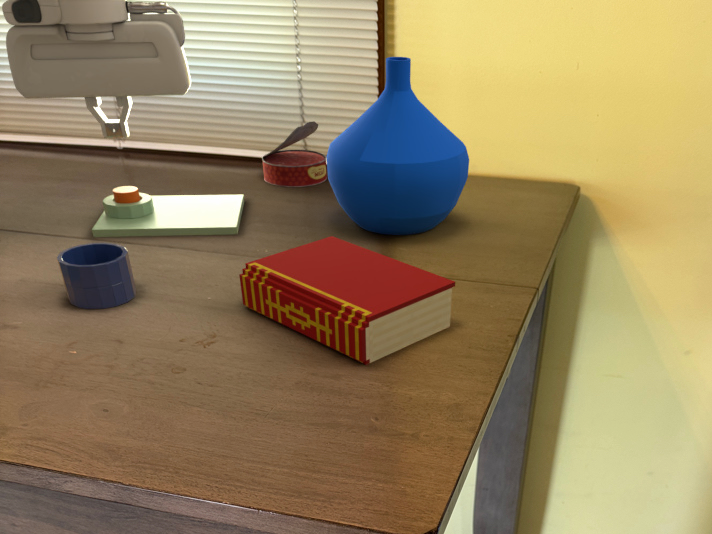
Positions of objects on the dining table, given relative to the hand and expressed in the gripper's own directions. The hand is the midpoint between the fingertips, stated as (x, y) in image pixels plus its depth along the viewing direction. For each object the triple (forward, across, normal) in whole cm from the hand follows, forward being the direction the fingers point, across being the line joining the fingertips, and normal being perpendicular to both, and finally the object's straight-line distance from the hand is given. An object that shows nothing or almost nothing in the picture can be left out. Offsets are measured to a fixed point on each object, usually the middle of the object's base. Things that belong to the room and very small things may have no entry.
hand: (117, 137), depth 95 cm
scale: (+10, -5, 0) cm, 12 cm away
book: (+11, -27, +33) cm, 44 cm away
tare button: (+8, 0, 0) cm, 8 cm away
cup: (+10, -1, +26) cm, 28 cm away
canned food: (+11, -21, -20) cm, 31 cm away
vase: (+11, -35, +3) cm, 37 cm away
